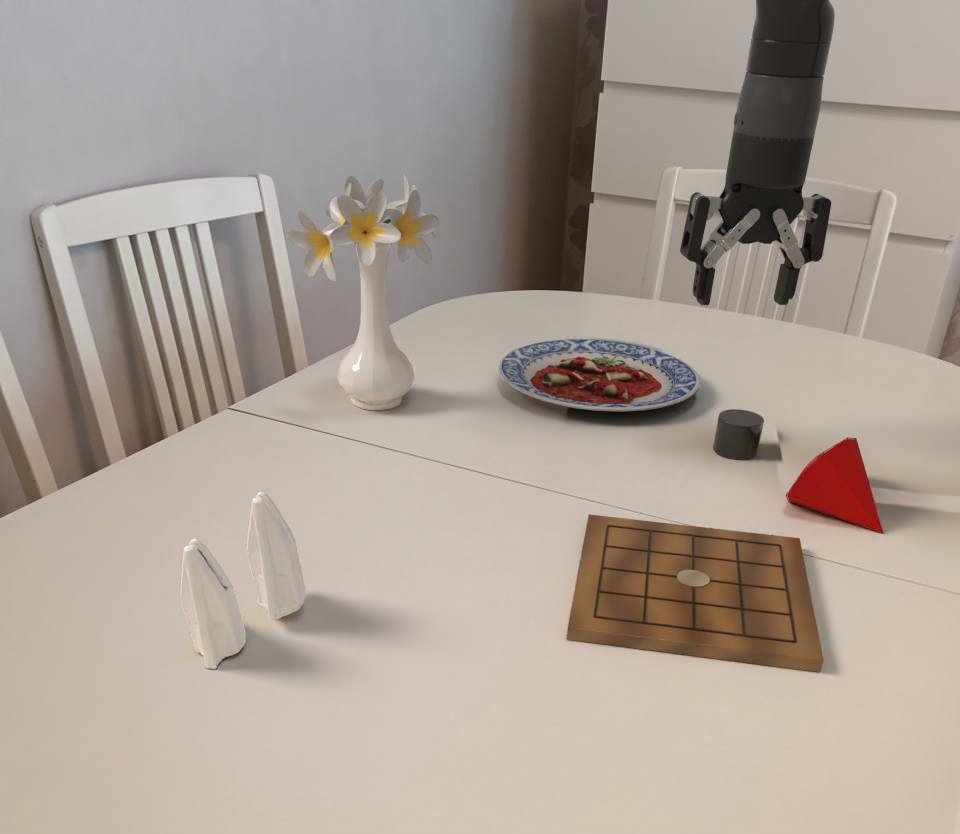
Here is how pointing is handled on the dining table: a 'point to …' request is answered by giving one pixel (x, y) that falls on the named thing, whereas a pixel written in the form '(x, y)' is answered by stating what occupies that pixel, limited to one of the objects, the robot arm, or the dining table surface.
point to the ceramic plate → (599, 375)
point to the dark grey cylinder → (738, 434)
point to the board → (695, 593)
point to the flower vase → (370, 281)
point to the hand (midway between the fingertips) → (741, 303)
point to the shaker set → (213, 593)
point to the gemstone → (838, 486)
